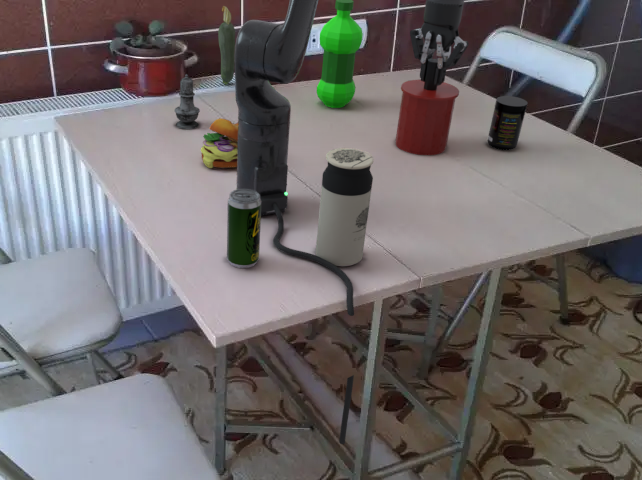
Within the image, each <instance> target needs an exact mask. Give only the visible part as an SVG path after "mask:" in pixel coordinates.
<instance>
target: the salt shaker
mask: <svg viewBox="0 0 642 480" xmlns="http://www.w3.org/2000/svg"><path fill="white" fill-rule="evenodd" d="M179 83H180V84H179V85H180V87H179V89H180V92H178V95H179V96H180V98H179V100H180V103H179V106H177V107H175V108H174V113H175V116H176V118H177V120H178V121H177V122H176V123H175V126H176V127H177V128H179V129H182V130H193V129H197V128H198V127H199V126H200V125H199V122H197V121H196V120H197V119H198V117H199V115H200V114H199V113H200V112H201V110H200V108H199V107H197V106H195V102H194V99H195V98H194V96H195V95H196V93H195V92H194V81H193V79H192V78H191V77H189V75H188V73H186V74H185V75H184V77H182V78H181V79H180V81H179Z"/></svg>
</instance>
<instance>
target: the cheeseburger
mask: <svg viewBox="0 0 642 480" xmlns="http://www.w3.org/2000/svg"><path fill="white" fill-rule="evenodd" d="M209 130H210V131H212V133H211V132H207V133H206V134H203V136H202V137H203V139H204V140H203V142H202V146H201V148H200V152H201V153H200V154H201V159H202V162H203V164H204V165H205V167H206V168H208V169H213V168H223V169H224V168H226V169H227V168H237V147H238V122H237V123H233V122H232V121H230V120H229V119H226V118H221V117H219V118H217V119H215V120H214V121H213V122H212V123H211V124H210V126H209Z"/></svg>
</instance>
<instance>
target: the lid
mask: <svg viewBox="0 0 642 480" xmlns="http://www.w3.org/2000/svg"><path fill="white" fill-rule="evenodd" d="M437 65H438V58H432V59H429V60H428V64H427V70H426V76H425V82H423V81H421V79H412V80H407V81H404V82H403V83H402V84H401V85H400V90H401V92H402V93H405V94H407V95H409V96H411V97H414V98H418V99H423V100H430V101H445V100H451V99H454V98H456V99H457V98H458V97H459V95H460V90H459V88H458V87H457V86H455V85H453V84H450V83H448V82H445V81H444V82H443V83H442V84H441V85H438V86H436V85H434V79H435V73H436V68H438V66H437Z"/></svg>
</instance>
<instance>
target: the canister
mask: <svg viewBox="0 0 642 480" xmlns="http://www.w3.org/2000/svg"><path fill="white" fill-rule="evenodd" d="M456 99H457V97H456V98H454V99H451V100H445V101H430V100H423V99H418V98H414V97H411V96H409V95H407V94H405V93H403V92H402V94H401V101H400V107H399V114H398V121H397V126H396V127H397V128H396V134H395V146H396V147H397V149H399V150H401V151H403V152H406V153H409V154H412V155H417V156H436V155H439V154H443V153H444V152H445V151H446V150H447V149H446V148H447V146H448V140H449V136H450V129H451V124H452V119H453V113H454V110H455V104H456V103H455V102H456Z"/></svg>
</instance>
